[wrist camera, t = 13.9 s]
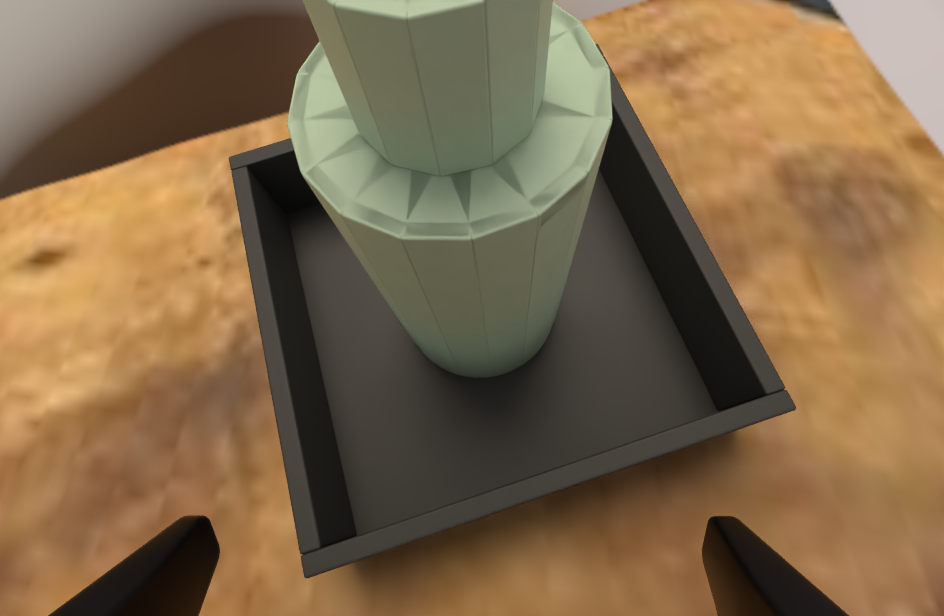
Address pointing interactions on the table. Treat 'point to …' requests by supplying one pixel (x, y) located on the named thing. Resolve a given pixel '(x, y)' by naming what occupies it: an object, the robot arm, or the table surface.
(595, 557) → the table surface
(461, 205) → the bottle
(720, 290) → the bin
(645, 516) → the table surface
